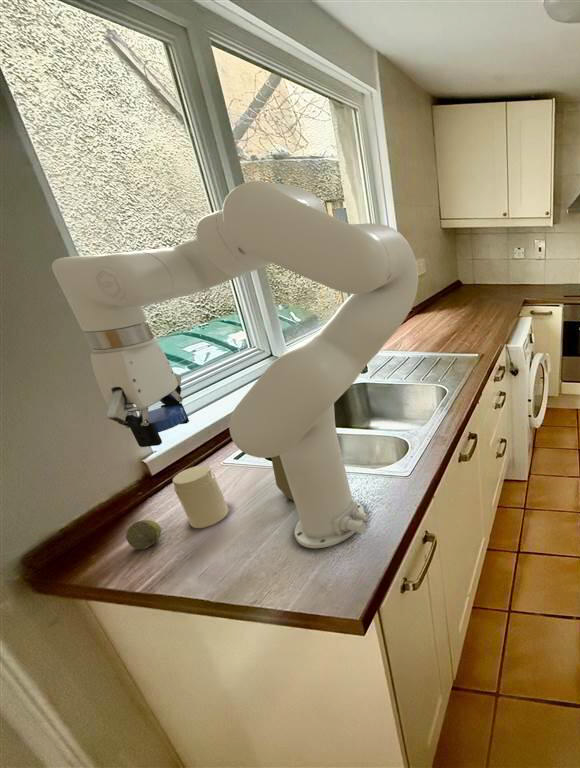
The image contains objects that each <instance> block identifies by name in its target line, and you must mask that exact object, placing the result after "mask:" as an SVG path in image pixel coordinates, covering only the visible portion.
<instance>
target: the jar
mask: <svg viewBox="0 0 580 768" xmlns="http://www.w3.org/2000/svg"><path fill="white" fill-rule="evenodd" d="M172 483H173V490H174V492H175V494H176V497H177V499H178V501H179V503H180V505H181V508H182V509H183V512H184V513H185V516H186V518H187V520H188V522H189V524H190V526H191V527H192V528H193V529H203V528H208V527H210V526H214V525H215V524H217V523H219V522H221V521H222V520H223V519H224V518H226V516H227V515H228V514H229V507H228V505H227V502H226V500H225V497H224V494H223V492H222V490H221V488H220V484H219V482H218V479H217V478H216V475H215V473H214V472H213V471H212V468H210V467H209V466H208V465H195V466H192V467H189V468H187V469H184V470H182V471H180V472H178V473H177V474H176V475H174V477H173V478H172Z"/></svg>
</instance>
